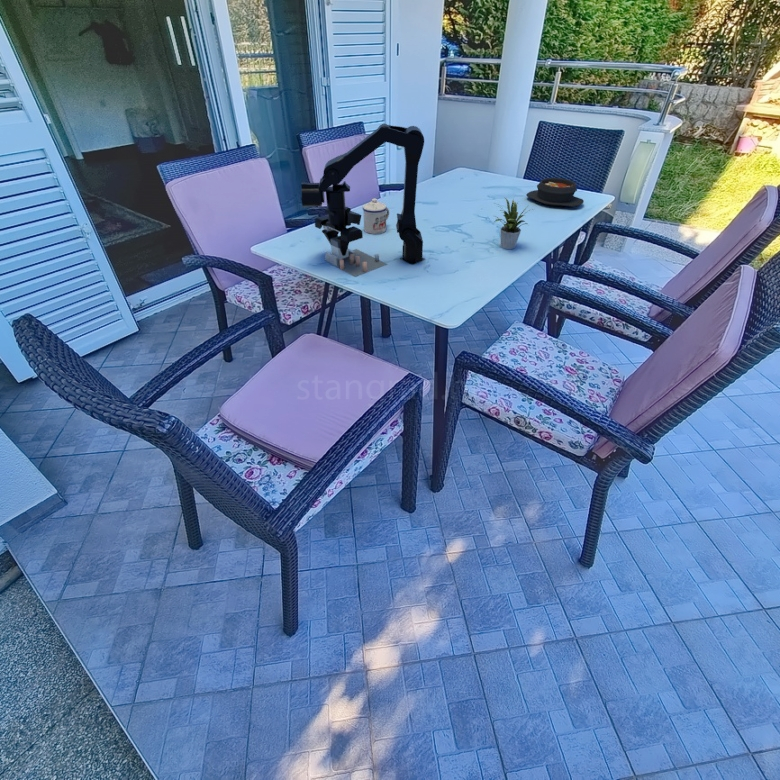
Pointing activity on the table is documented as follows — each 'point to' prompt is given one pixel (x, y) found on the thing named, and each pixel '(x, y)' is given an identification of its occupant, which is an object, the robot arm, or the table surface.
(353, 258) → the pegs
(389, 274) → the table surface
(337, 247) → the block
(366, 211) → the teacup with lid
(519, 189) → the table surface
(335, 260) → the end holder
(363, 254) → the mat
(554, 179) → the casserole
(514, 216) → the house plant
